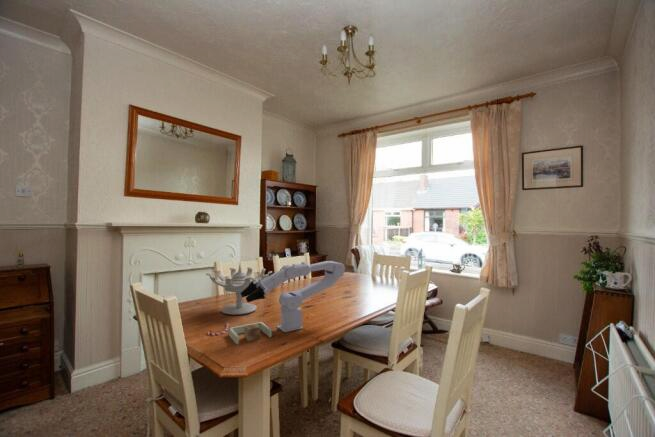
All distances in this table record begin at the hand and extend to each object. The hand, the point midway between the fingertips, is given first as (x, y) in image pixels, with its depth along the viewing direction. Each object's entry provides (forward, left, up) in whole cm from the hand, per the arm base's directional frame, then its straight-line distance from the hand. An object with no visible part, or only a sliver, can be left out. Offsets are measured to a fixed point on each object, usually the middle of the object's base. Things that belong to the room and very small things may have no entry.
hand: (243, 297), depth 125 cm
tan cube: (-3, +3, -17) cm, 17 cm away
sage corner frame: (-3, +1, -17) cm, 17 cm away
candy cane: (+6, -14, -17) cm, 23 cm away
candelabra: (-10, -37, -17) cm, 42 cm away
